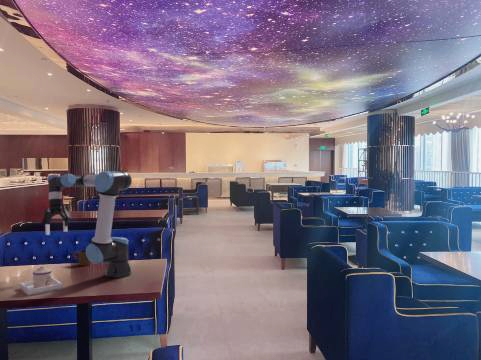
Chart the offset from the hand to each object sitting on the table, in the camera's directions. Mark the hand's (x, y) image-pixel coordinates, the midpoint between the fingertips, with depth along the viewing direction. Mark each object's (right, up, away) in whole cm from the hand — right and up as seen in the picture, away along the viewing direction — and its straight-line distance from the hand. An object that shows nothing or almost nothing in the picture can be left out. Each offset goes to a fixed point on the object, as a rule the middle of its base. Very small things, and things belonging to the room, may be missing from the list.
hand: (56, 233), depth 247 cm
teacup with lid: (+6, -25, -29) cm, 39 cm away
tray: (+5, -26, -29) cm, 40 cm away
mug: (+6, -25, +24) cm, 35 cm away
